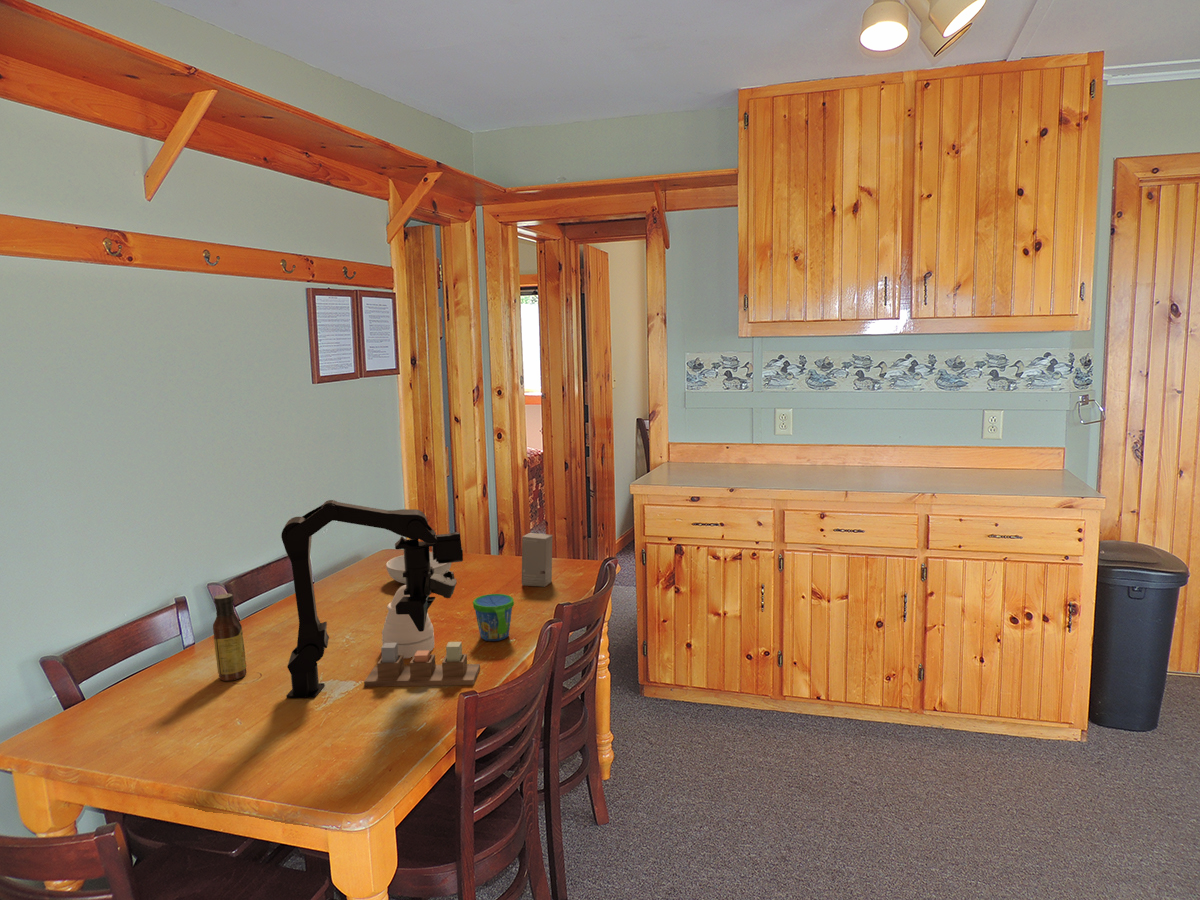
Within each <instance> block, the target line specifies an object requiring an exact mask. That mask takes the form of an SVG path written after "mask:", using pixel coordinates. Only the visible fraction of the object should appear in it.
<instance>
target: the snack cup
mask: <svg viewBox="0 0 1200 900" xmlns="http://www.w3.org/2000/svg"><path fill="white" fill-rule="evenodd" d="M514 605H515V601H514V598H513V596H511V595H508V594H504V593H488V594H483V595H480V596H478V597H476V598H474V600H473V601H472V607H473V609H474V611H475V617H476V622H477V627H478V633H479V636H480V638H481V639H483V640H484V641H485V642H487V641H489V642H499V641H501V640H505V639H506V638H508V637H509V636H510V629H511V621H512V614H513V613H512V611H513V607H514Z"/></svg>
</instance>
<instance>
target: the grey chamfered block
mask: <svg viewBox="0 0 1200 900" xmlns="http://www.w3.org/2000/svg"><path fill="white" fill-rule="evenodd" d="M380 651H381V657H382V663H385V662H397V661H398V659H399V657H398V643H384V645H382V646H381V648H380Z"/></svg>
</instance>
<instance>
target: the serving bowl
mask: <svg viewBox="0 0 1200 900" xmlns="http://www.w3.org/2000/svg"><path fill="white" fill-rule="evenodd" d="M429 553H430V567H433V568H434V574H438V575H440V574H442V575H443V574H444V573H445V572H446V571H447V570H449V571H451V570H450V569H451V566H452V563H442V564H438V562H436V559H435V560H433V555H432V551H429ZM385 567H386V571H387V573H388V575H389V577H390V578H392V579H393V580H394V581H395V582H398V583H400V584H404V585H406V579H405V577H403V572H404V571H405V564H404V554H403V555H399V556H395V557H393V558H391V559H389V560H388V561H387V562H386V564H385Z"/></svg>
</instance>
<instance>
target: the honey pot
mask: <svg viewBox="0 0 1200 900" xmlns="http://www.w3.org/2000/svg"><path fill="white" fill-rule="evenodd" d="M405 589H406V584H404V585H401V586H399V588H397V590H396V592H395V594H394V595H393V598H392V601H390V602H389V603H388V604H387V606H386V609H387V610H388V612H387V614H386V616H385V618H384V619H385V621H384V624H383V628H382V629H381V630H382V631H381V635H382V636H381V638H382V641H381V645H382V646H383V645H384V643H398V655H403V658H404V659H412V658H411V657H414V655H415V653H416V652H417V651H423V650H430V652H432V651H433V650H434V649H435V646H434V645H435V633H434V632H435V631H434V625H433V623H432V621H431V619H430V618H431V617H429V615H430V614H429V613H428V612H427V617H426V623H425V628H424V631H421V632H420V631H418V629H417V627H416V626H415V624H414V622H413V620H412V619H411V617H410V616H409V614H400V615H398V614H396V605H397V603H398V602H399V601H400V600H401V599H402V598H403V597H410V595H404V590H405ZM433 648H434V649H433Z"/></svg>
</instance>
